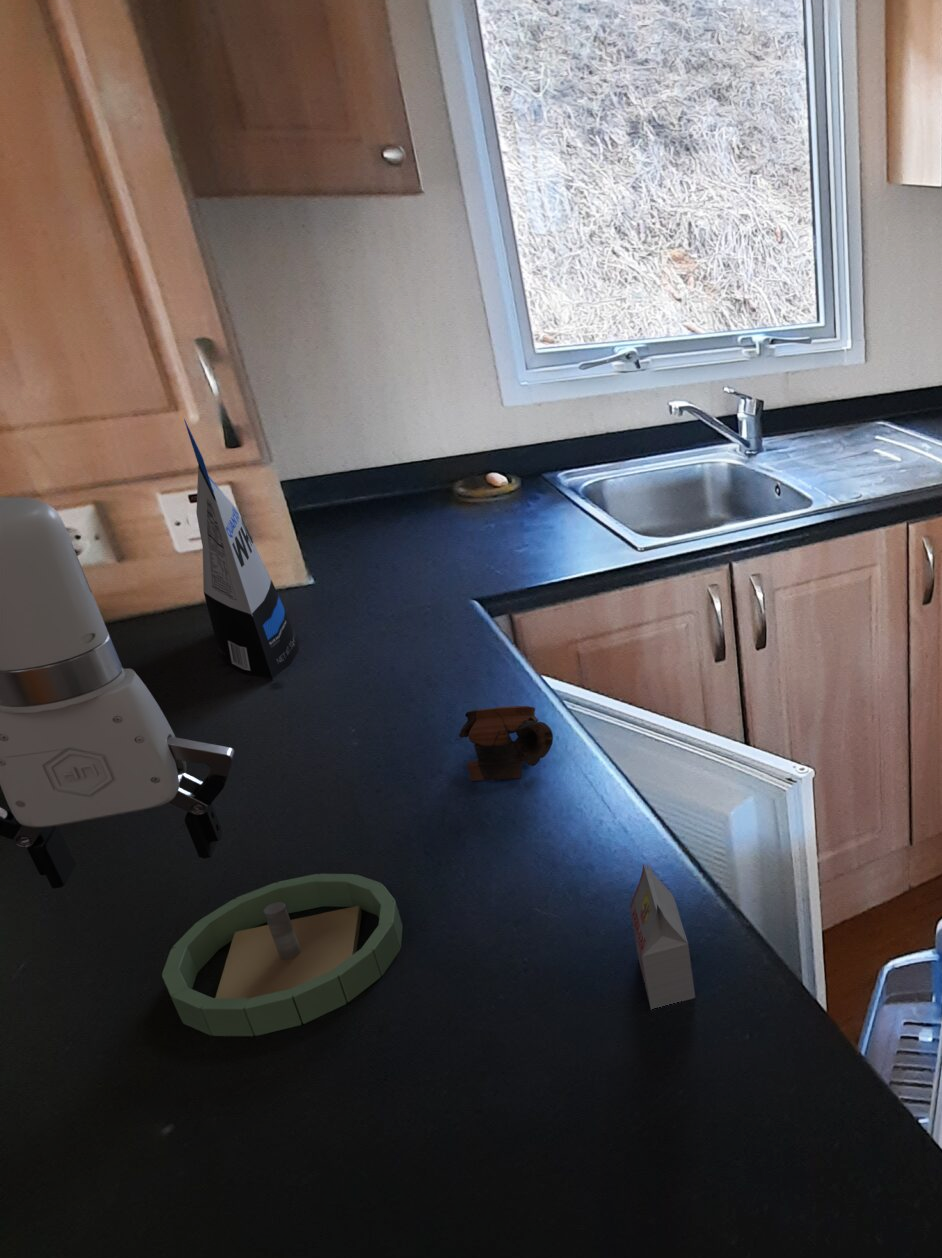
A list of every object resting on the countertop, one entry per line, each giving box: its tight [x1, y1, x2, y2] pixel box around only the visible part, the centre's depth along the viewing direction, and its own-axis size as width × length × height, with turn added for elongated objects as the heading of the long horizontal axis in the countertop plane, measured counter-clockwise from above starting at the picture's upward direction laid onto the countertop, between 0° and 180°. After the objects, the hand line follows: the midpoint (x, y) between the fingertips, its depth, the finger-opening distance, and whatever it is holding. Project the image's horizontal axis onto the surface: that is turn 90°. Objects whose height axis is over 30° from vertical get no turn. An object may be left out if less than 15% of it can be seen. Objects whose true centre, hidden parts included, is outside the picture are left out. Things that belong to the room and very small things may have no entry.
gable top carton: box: [629, 862, 696, 1011], centre depth 89 cm, size 4×7×10 cm, turn 24°
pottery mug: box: [458, 705, 554, 782], centre depth 121 cm, size 12×10×8 cm
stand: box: [214, 902, 363, 998], centre depth 91 cm, size 10×10×6 cm
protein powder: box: [183, 418, 300, 681], centre depth 141 cm, size 10×24×30 cm, turn 38°
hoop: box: [161, 873, 404, 1037], centre depth 91 cm, size 17×17×3 cm
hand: (138, 862), depth 83 cm, fingers open, 9 cm apart
